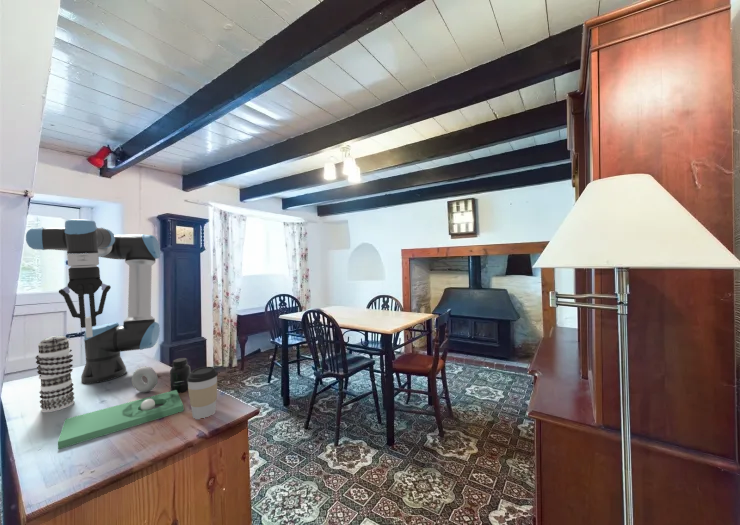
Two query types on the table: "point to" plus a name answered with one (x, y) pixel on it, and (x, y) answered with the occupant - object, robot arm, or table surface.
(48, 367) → the decorative candle
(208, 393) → the coffee cup
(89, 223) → the robot arm
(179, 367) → the supplement bottle
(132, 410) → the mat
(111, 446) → the table surface
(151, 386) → the donut
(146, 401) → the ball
